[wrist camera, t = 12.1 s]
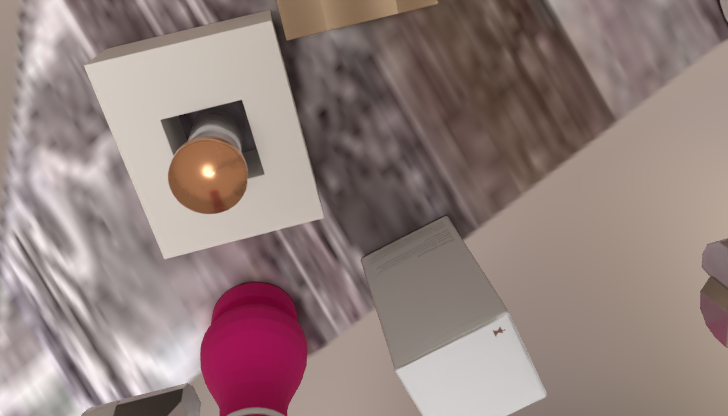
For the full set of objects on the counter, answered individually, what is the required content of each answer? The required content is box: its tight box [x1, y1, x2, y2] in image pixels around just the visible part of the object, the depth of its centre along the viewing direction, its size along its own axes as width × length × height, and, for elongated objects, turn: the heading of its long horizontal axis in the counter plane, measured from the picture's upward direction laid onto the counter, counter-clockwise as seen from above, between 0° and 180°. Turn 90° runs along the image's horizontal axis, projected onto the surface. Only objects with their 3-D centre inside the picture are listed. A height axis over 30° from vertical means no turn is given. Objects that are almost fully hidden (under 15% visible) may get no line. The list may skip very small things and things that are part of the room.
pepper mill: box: [201, 283, 307, 416], centre depth 36 cm, size 7×7×20 cm
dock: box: [84, 10, 324, 259], centre depth 36 cm, size 10×12×5 cm
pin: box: [168, 102, 248, 214], centre depth 34 cm, size 4×4×10 cm
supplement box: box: [361, 216, 546, 416], centre depth 40 cm, size 7×7×13 cm
